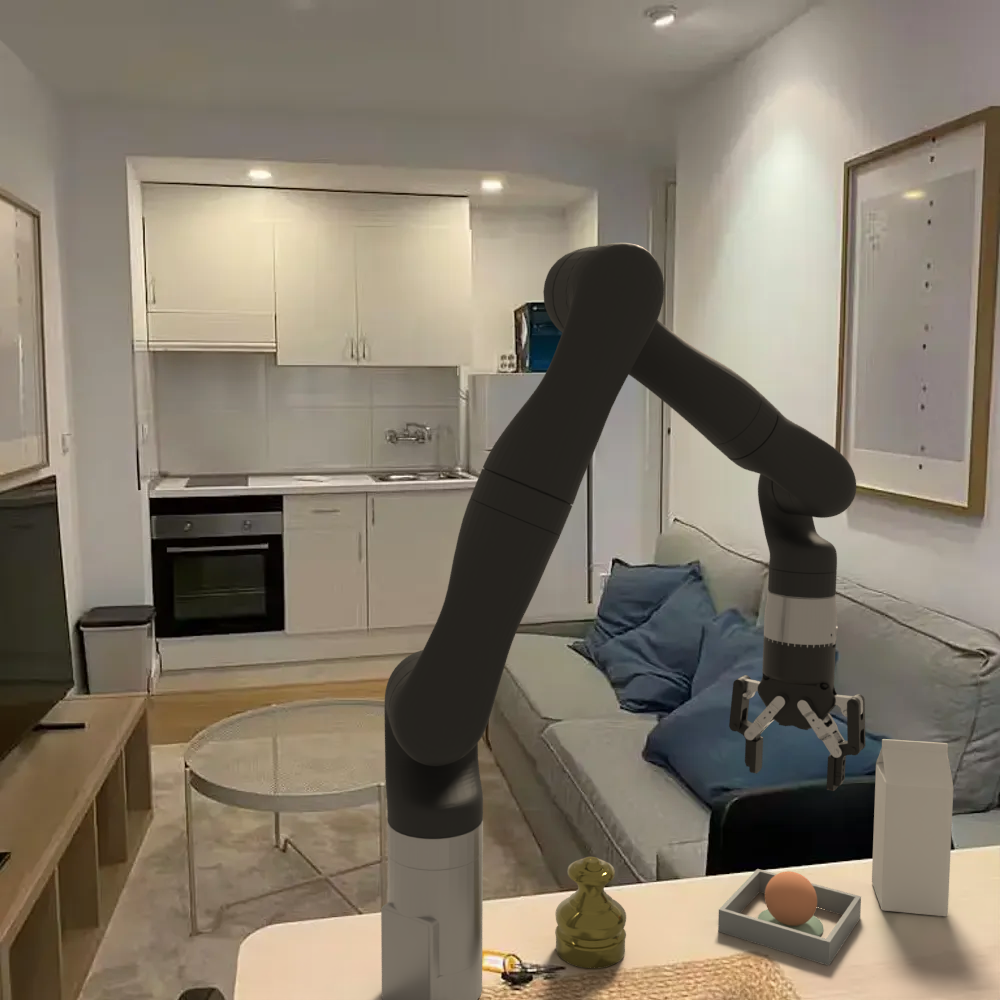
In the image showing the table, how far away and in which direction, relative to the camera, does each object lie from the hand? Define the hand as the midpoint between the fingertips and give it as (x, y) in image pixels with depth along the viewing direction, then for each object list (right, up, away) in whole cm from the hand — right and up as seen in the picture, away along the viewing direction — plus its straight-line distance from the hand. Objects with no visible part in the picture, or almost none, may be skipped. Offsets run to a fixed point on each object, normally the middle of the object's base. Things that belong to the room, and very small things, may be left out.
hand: (793, 779), depth 111 cm
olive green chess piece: (-23, -17, -4) cm, 29 cm away
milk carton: (+15, -16, +7) cm, 24 cm away
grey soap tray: (0, -16, +1) cm, 17 cm away
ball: (0, -16, +1) cm, 16 cm away
